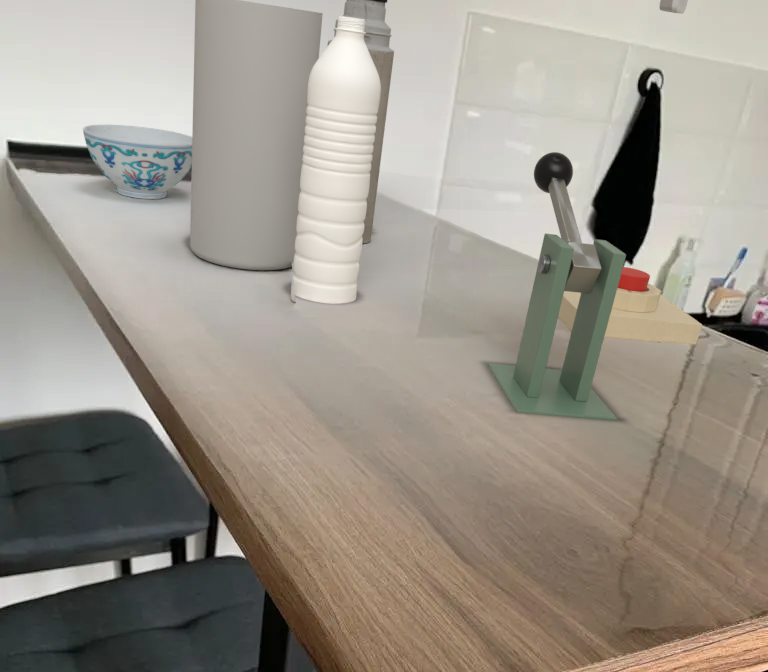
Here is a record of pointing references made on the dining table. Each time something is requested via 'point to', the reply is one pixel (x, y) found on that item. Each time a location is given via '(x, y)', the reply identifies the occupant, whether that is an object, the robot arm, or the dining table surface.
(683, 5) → the robot arm
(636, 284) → the stop button
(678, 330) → the tan square base plate
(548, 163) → the lever
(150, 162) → the chinaware
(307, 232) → the water bottle
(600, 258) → the switch bracket
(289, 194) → the cylinder vase
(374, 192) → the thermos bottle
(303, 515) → the dining table surface
